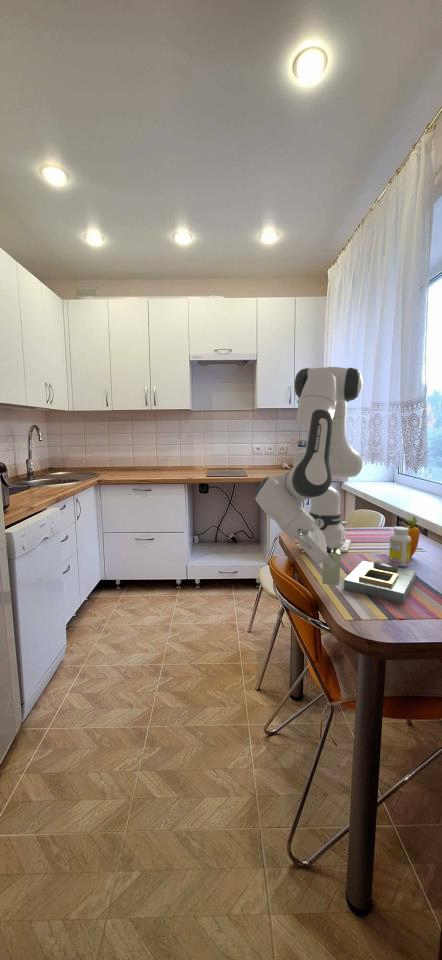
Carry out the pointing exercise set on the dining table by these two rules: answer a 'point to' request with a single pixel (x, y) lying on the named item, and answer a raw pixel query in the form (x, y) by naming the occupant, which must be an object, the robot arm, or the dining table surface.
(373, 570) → the grey base plate
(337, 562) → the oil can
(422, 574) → the dining table surface
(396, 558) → the supplement bottle
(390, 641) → the dining table surface
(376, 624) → the dining table surface
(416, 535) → the carrot
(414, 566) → the dining table surface
